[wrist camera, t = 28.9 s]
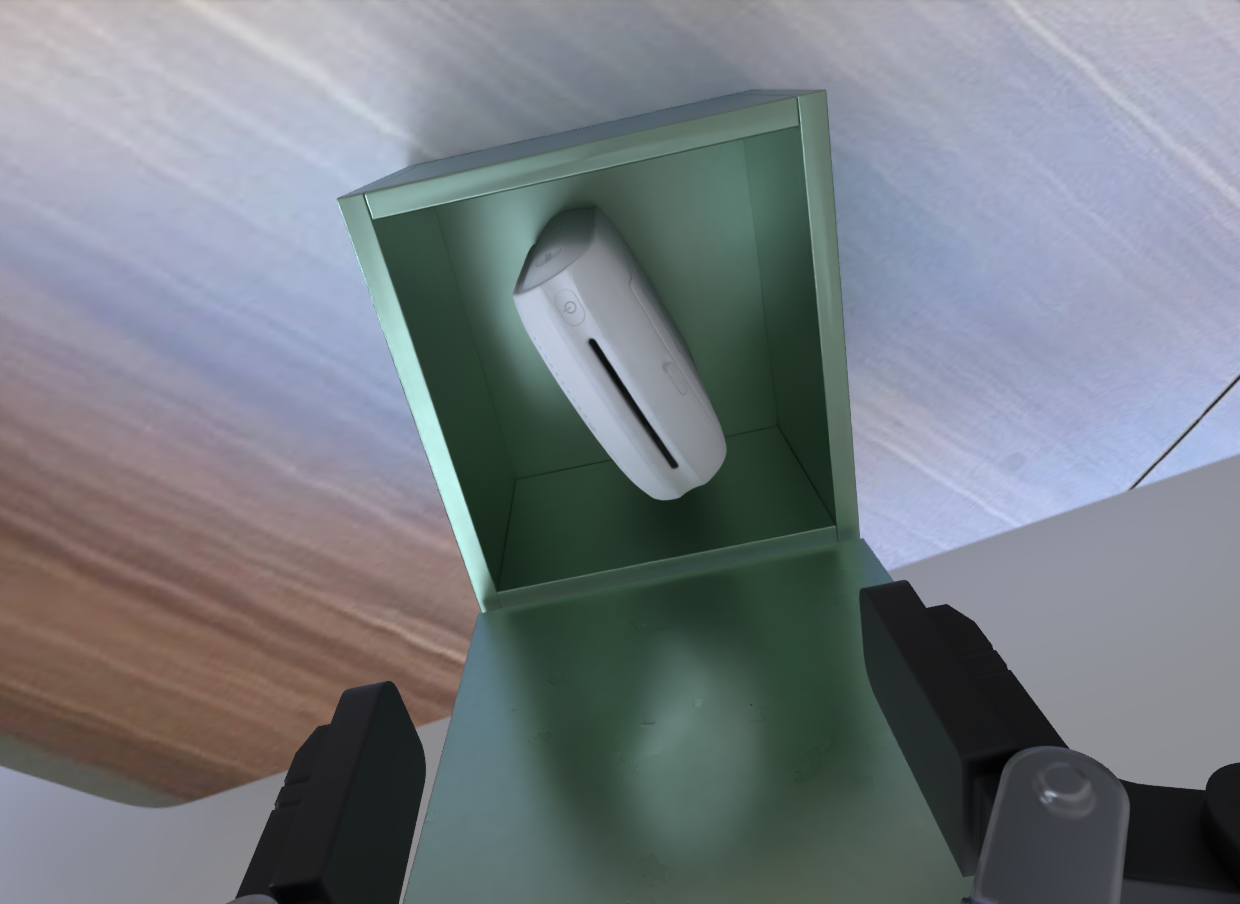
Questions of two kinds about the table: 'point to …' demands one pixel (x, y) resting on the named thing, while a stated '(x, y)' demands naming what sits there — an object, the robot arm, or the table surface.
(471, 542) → the box
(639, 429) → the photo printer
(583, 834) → the lid
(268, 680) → the table surface
